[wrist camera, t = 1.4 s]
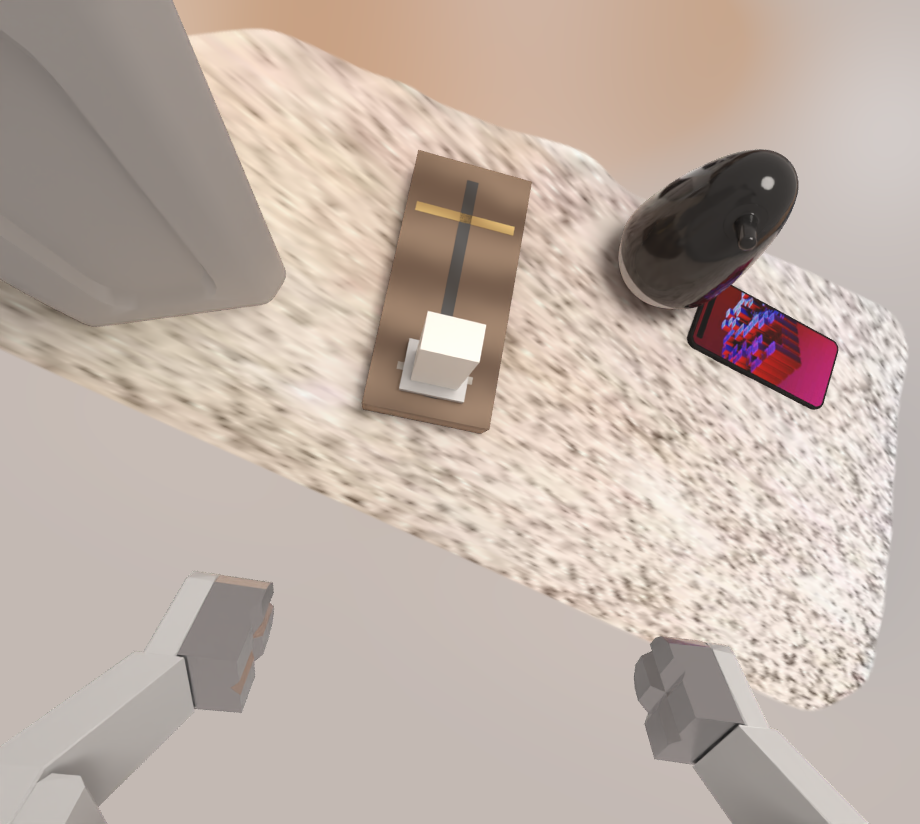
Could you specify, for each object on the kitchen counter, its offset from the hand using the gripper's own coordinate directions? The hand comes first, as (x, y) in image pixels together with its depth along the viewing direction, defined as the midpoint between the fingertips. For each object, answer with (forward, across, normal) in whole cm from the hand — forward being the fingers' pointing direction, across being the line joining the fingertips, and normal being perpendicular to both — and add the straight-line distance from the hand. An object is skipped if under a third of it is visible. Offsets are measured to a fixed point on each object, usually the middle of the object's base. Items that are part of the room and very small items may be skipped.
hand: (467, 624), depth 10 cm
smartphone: (+38, -30, +6) cm, 49 cm away
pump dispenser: (+40, -18, +2) cm, 44 cm away
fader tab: (+27, +1, +9) cm, 28 cm away
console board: (+35, 0, +6) cm, 35 cm away
